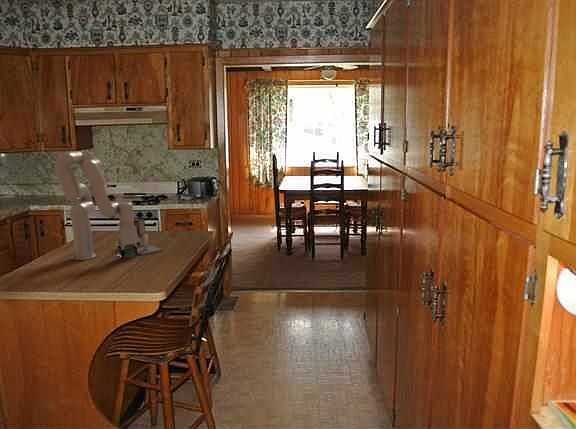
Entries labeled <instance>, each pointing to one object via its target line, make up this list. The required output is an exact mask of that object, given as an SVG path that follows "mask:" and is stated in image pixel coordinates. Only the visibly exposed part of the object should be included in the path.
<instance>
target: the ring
mask: <svg viewBox="0 0 576 429" xmlns="http://www.w3.org/2000/svg"><path fill="white" fill-rule="evenodd" d="M123 250H124V252H125V257H122V258H123V259H132V258H133V259H134V258H136V257H137V254H136V253H135V248H133V247H124V249H123Z"/></svg>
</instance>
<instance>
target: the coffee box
mask: <svg viewBox="0 0 576 429" xmlns="http://www.w3.org/2000/svg"><path fill="white" fill-rule="evenodd" d="M133 219H134V226H136V230H137V234H138V237H139V238H140V239H141V240H142V241H141V242H140V244H139V245H138V247H142V246H144V239H143V235H145V234H146V223H145V222H146V221H145V218H133ZM129 246H133V244H130V245H129ZM133 247H134V246H133Z"/></svg>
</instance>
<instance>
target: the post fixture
mask: <svg viewBox="0 0 576 429" xmlns="http://www.w3.org/2000/svg"><path fill="white" fill-rule="evenodd" d="M143 239H144V245H143V247H142V246H141V247H137V254H136V255H139V256H145V255H146V256H147V255H150V254H151V255H152V254H156V253H162V252H163V251H164V250H163V248H159V247H156V246H154V245H149V237H148V234H145V235H143Z"/></svg>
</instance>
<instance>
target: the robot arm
mask: <svg viewBox="0 0 576 429" xmlns="http://www.w3.org/2000/svg"><path fill="white" fill-rule="evenodd" d="M103 166H104V165H103V163H102V161H100V160H99V159H98V158H95V157H93V156H90V155H88V154H85V153H84V152H81V151H76V150H75V151H65V152H63V153H61V154H59V155H58V156H57V158H56V160H55V161H54V171H55V174H56V176H57V178H58V180H59V184H60V186H61V188H62V191H63V193H64V196H65V198H66V199H67V200H68V201H70V202H75V203H74V204H73V205H71V207H70V209H69V217H70V220H71V226H72V235H73V246H74V248H73V249H74V250H72V251H71V252H67V253H65V256H66V257H70V258H72V260H74V261H85V260H90V259H91V260H92V259H94V258H96V257H97V254H96V253H95V252H94V249H93V237H92V236H93V235H92V228H91V227H92V225H91V221H90V218H89V217H91V216H93V215H94V214H95V212H96V206H97V208H98V210H99V212H100V213H101V215H102V216H103V217H105V218H107V219H109V218H110V219H111V218H113V217H115V216H117V215H118V217H119V218H118V219H119V223H117V227H118V233H117V234H118V235H117V238H118V239H117V240H116V241H115V242H114V246H115V247H116V248H118V250H119V251H120V256H121V257H122V258H123V257H125V252H124V250H123V249H124V248H125V246H131V245H130V244H133V247H132V248H135V253H136V255H138V254H137V248H139V246H138V245H139V244H140V242H141V241H142V240H141V239H140V238H139V237H138V234H137V230H136V226H134V219H135V218H134V207H133V204H132V202H130V201H129V202H118V201H110V199H109V197H108V192H107V190H108V182H107V180H106V178H105V176H104V174H103V172H102V171H103V168H104V167H103ZM74 167H78V168H79V169H81V170H82V173H83V174H84V176H85V178H86V179H87V182H88V184H89V186H90V187H91V189H92V193H93V197H92V194H91V193H90V190H89V187H87V185H86V184H85V183H83V182H78V179H77V176H76V174H75V173H74V171H73V170H72V168H74ZM93 199H94V200H93ZM94 202H95V203H94Z"/></svg>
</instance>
